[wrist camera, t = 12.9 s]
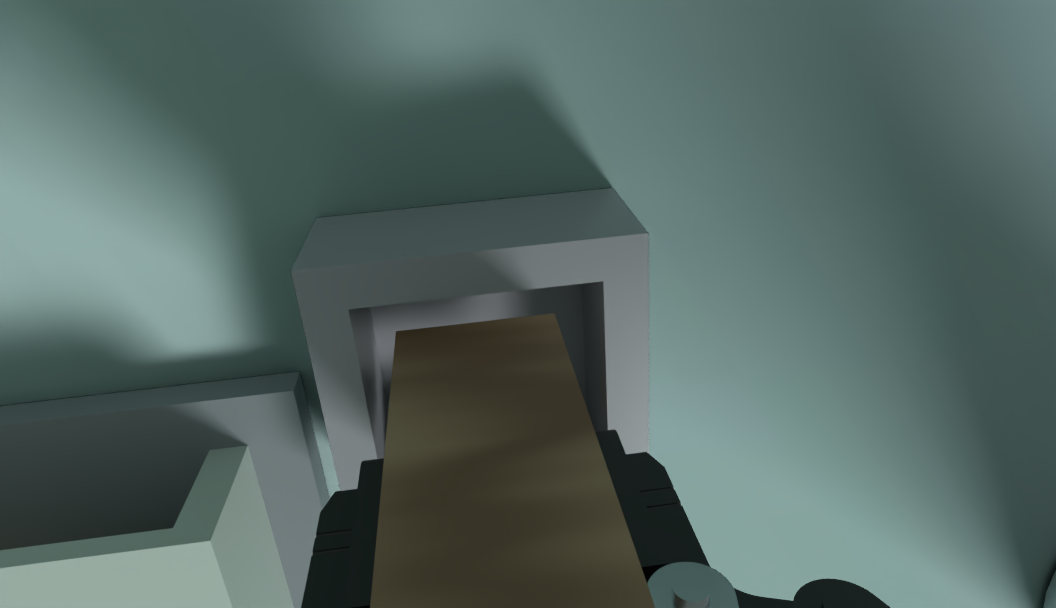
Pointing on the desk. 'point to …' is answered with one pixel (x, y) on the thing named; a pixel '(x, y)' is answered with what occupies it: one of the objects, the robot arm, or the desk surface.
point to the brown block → (497, 478)
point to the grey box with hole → (161, 497)
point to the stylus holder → (475, 301)
